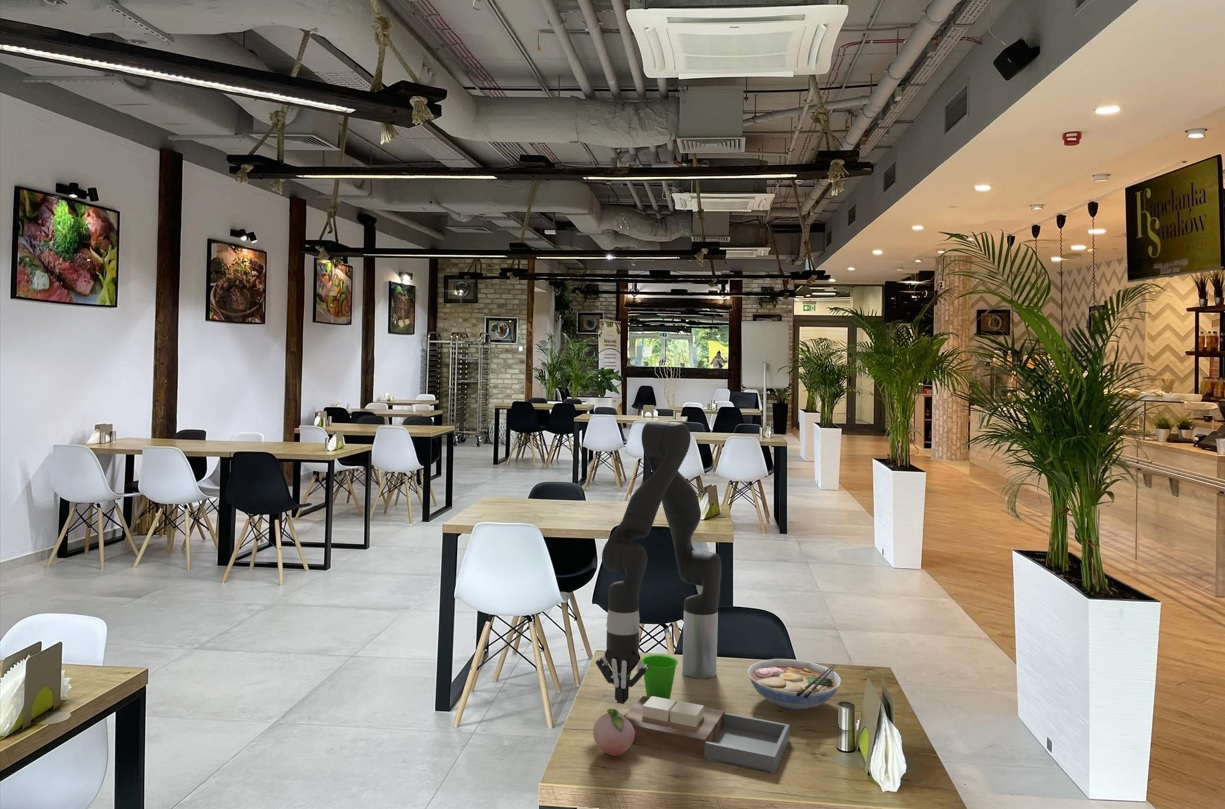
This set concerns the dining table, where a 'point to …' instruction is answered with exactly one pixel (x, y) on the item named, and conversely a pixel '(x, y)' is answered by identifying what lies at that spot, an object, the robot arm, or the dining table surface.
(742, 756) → the box
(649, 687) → the cup
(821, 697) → the ramen bowl
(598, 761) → the dining table surface
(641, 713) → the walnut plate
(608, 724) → the decorative fruit
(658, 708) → the tile
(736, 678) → the dining table surface
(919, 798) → the dining table surface
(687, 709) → the tile
